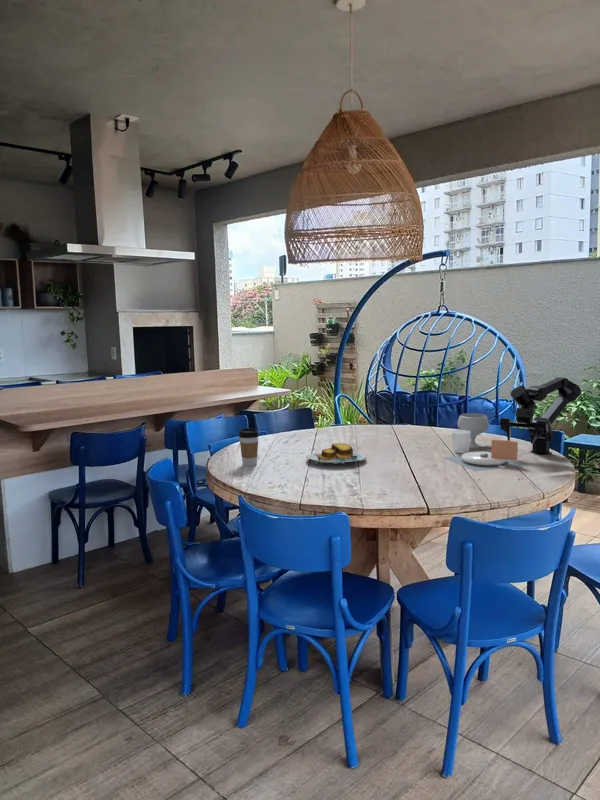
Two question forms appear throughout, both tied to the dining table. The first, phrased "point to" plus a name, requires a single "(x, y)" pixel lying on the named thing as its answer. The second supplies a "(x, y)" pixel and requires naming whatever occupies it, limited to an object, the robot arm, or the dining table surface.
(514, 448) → the dial
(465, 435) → the white cup
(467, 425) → the chalice
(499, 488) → the dining table surface
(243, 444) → the coffee cup
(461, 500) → the dining table surface
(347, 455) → the food on plate
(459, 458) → the board
